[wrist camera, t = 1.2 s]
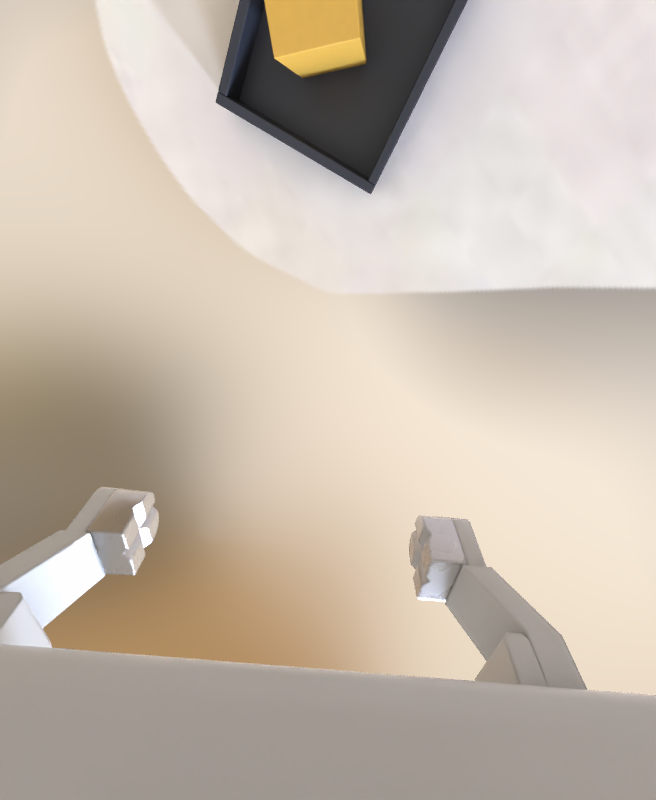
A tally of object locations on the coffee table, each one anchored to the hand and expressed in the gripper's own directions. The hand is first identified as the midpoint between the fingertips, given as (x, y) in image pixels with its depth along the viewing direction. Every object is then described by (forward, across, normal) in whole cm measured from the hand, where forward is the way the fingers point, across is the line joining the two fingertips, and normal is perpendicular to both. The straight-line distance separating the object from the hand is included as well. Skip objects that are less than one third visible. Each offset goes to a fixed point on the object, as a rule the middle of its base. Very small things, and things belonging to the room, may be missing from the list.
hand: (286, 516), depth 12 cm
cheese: (+30, +1, -17) cm, 34 cm away
